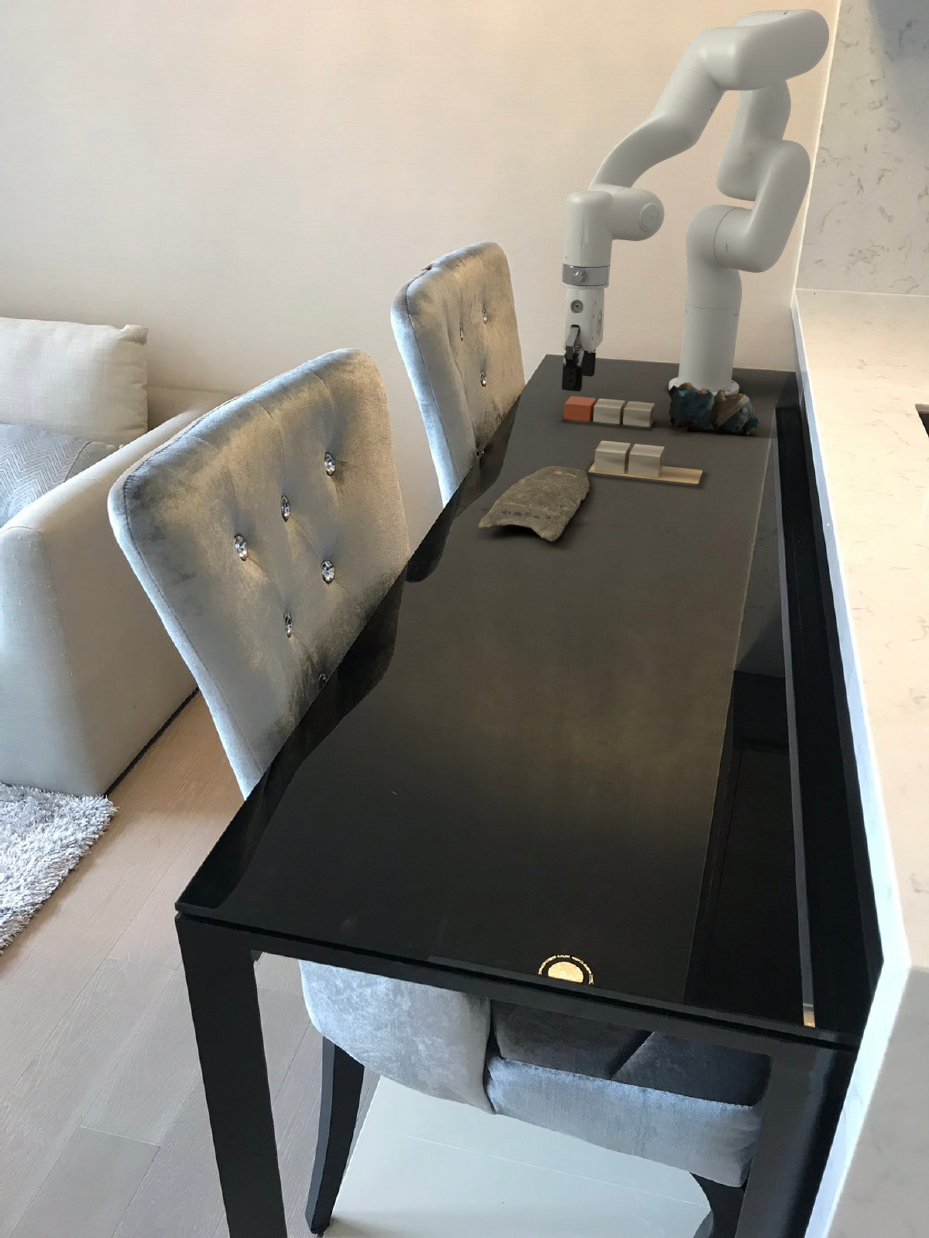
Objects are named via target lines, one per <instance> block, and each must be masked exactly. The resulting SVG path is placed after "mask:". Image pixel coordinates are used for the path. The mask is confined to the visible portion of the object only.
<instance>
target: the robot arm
mask: <svg viewBox="0 0 929 1238" xmlns="http://www.w3.org/2000/svg"><path fill="white" fill-rule="evenodd" d="M829 42H830V29H829V24H828V22H827V20H826V18H825V17H824V16H823V15H822V14H821V13H820V12H818V11H816V10H815V9H809V8H801V9H800V8H799V9H780V10H779V9H778V10H777V9H775V10H773V9H772V10H758V11H753V12H749V13H746V14H743V15H742V16H740V17H739V18H737V19H736V20H735V21H734V22H733V24H732V26H718V27H710V28H706V29H702V30H701V31H699V32H697V33H696V34H695V35H694V36H693V37H692V39H691V40H690V42H689V43H688V44H687V47H686V48H685V50H684V52H683V53H682V55H681V57H680V60H679V61H678V62H677V65H676V67H675V68H674V70H673V72H672V74H671V76H670V78H669V80H668V81H667V83H666V85H665V87H664V88H663V91H662V92H661V94H660V96H659V98H658V100H657V102H656V104H655V106H654V107H653V109H652V111H651V113H650V114H649V115H648V116H647V117H646V118H645V119H644V120H643V121H641V123H639V124H638V125H637V126H635V127H634V128H633V129H632V130H631V131H630V132H628V134H627V135H625V137H624V138H622V139H621V140H620V141H619V142H618V143H617V144H616V145H615V146H614V147H612V149H611V150H610V151H609V152H608V153H607V154H606V156H605V157H604V159H603V160H602V162H601V163H600V165H599V166H598V168H597V170H596V172H595V174H594V176H593V178H592V180H591V181H590V184H589V185H588V188H587V190H576V191H573V192H570V193H569V194H568V196H567V198H566V202H565V213H564V214H565V215H564V231H563V232H564V233H563V250H562V263H561V264H562V267H561V283H560V285H561V286H562V287H563V288H566V292H565V293H566V295H565V300H564V303H565V304H564V313H563V324H562V325H563V327H562V348H563V350H564V351H565V353H564V354H563V357H564V358H563V362H562V374H561V376H562V377H561V390H562V391H566V392H567V391H568V392H578V393H579V392H581V391H582V389H583V377H590V378H591V377H593V376H595V372H596V359H597V352H596V350H597V348H598V347H599V346H601V344H602V342H603V339H604V325H605V324H604V323H605V322H604V320H605V318H604V317H605V289H607V288H608V287H609V285H610V274H611V261H612V249H613V241H615V240H618V241H619V240H620V241H629V242H630V241H631V242H641V241H645V240H648V239H650V238H652V237H653V236H654V235H656V234H657V233H658V231H659V230H660V229H661V228H662V225H663V224H664V220H665V208H664V204H663V202H662V200H661V198H660V197H658V195H656V194H655V193H653V192H651V191H650V190H646V189H641V188H634V187H633V186H634V185H635V183H636V181H637V180H638V179H640V177H641V176H642V175H644V174H645V173H646V172H647V171H648V170H650V169H651V168H652V167H655V165H658V164H660V163H662V162H664V161H666V160H668V159H671V158H673V157H675V156H678V155H680V154H682V153H684V152H686V151H688V150H690V149H691V148H692V147H694V146H695V145H696V144H697V143H698V142H699V141H700V138H701V136H702V134H703V133H704V130H705V129H706V127H707V126H708V123H709V121H710V119H711V117H712V116H713V114H714V112H715V111H716V109H717V107H718V106H719V103H720V102H721V100H722V98H723V97H724V94H726V92H727V91H736V92H737V91H738V93H739V95H738V96H739V98H738V105H737V110H736V112H735V116H734V119H733V122H732V126H731V128H730V131H729V134H728V137H727V140H726V142H725V144H724V148H723V151H722V153H721V157H720V159H719V162H718V166H717V170H716V176H715V185H716V187H717V189H718V190H719V192H720V193H721V194H723V195H724V196H726V197H728V198H732V199H734V200H735V199H736V200H741V201H748V202H753V203H754V204H753V206H752V208H747V207H742V206H735V205H728V204H712V205H711V204H710V205H706V206H705V207H702V208H700V209H699V210H697V211H696V212H695V213H694V214H693V215H692V217H691V218H690V220H689V222H688V224H687V227H686V232H685V253H686V265H687V274H686V275H687V276H686V277H687V278H686V293H685V303H684V313H683V314H684V315H683V325H682V336H681V346H680V353H679V354H680V355H679V365H678V376H677V377H673V378H672V379H671V380H670V381H669V382H668V391H669V390H670V389H671V388H672V386H673V385H674V386H676V387H679V386H680V385H681V384H683V383H691V384H692V385H693V387H695V388H696V389H698V390H699V391H700V390H701V389H703V388H705V389H706V390H708V389H710V392H712V393H713V395H714V396H716V394H717V392H718V391H720V390H723V391H726V392H725V394H726V395H731V394H739V392H740V385H739V384H738V383H737V382H736V381H735V380H733V369H734V361H735V354H736V346H737V344H736V343H737V337H738V330H739V329H738V328H739V321H740V313H741V306H742V298H743V287H742V286H743V285H742V280H741V275H740V271H742V272H747V273H752V274H753V273H754V274H760V273H764V272H767V271H769V270H770V269H772V268H773V267H774V266H775V265H776V263H777V262H779V260H780V258H781V256H782V254H783V252H784V250H785V248H786V246H787V243H788V240H789V238H790V236H791V233H792V231H793V228H794V225H795V222H796V220H797V217H798V214H799V212H800V209H801V206H802V204H803V202H804V199H805V196H806V193H807V190H808V187H809V184H810V180H811V179H810V178H811V158H810V155H809V153H808V151H807V150H806V148H805V147H804V146H803V145H801V144H800V143H798V142H797V141H794V140H788V139H783V138H784V135H785V131H786V128H787V126H788V122H789V119H790V116H791V109H792V101H791V100H792V99H791V98H792V97H791V94H790V93H791V92H790V89H789V86H788V82H787V80H790V79H793V78H795V77H799V76H801V75H804V74H806V73H808V72H810V71H811V70H813V69H814V68H815V67H816V66H817V65H818V64H819V63H820V62H821V60H822V59H823V57H824V55H825V53H826V51H827V49H828V45H829Z"/></svg>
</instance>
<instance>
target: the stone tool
mask: <svg viewBox="0 0 929 1238" xmlns="http://www.w3.org/2000/svg"><path fill="white" fill-rule="evenodd" d="M589 487H590V482H589V475H588V474H587V472H586V471H585V470H583V469H582V470H581V469H576V468H573V467H566V466H559V465H550V466H546V467H542V468H540V469H538V470H536V471H535V472H533V473H532V474H530V475H525V477H523V478H520V479H519V480H518V482H517V483H514V484H512V485H511V486H510V487H509V489H506V490H505V491H504V493H502V494H501V495H500V497H498V498H497V499H496V501H495V502H494V504H493V505H492V507H491V508H490V510H489V511H488V513H486V514H485V515H484V516H483V517H482V518H481V519H480V521H479V523H478V529H480V530H482V531H487V530H490V529H492V528H496V527H505V526H520V527H523V528H529V529H531V530H532V531H534V532H535V533H536V534H537V535H538V536H539V537H540V538H541V539H543V540H545V541H548V542H555V541H556V540H557V539H559V538H560V536H561V535H562V534H563V531H564V530H565V529H566V526H567V525H568V524H569V521H570V520H571V519H572V518H573V517H574V516H575V513H576V512H577V510H578V509H580V505H581V502H582V501H584V500H585V499H586V497H587V494H588V493H589V492H590V488H589Z"/></svg>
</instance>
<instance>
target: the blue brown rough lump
mask: <svg viewBox="0 0 929 1238" xmlns="http://www.w3.org/2000/svg"><path fill="white" fill-rule="evenodd" d="M725 392H726V391H723V390H720V391H718V392H717V394H716V396H714V395H713V393H712V392H710V389H708V390H706V389H705V388H703V389H701V390H700V391H699V390H698V389H696V388H695V387H693V385H692V384H691V383H683V384H681V385H680V386H679V387H676V386H674V385H673V386H672V388H671V389H670V390H669V389H668V394H669V398H670V404H669V410H668V415H669V419H670V420H669V423H670V424H671V427H672V428H673V430H674V432H681V433H687V431H688V429H689V428H690V427H691V426H693V425H695V426H697V427H701V428H702V429H704V430H707V429H708V428H710V425H711V426H713V428H714V429H718V430H719V431H721V432H723V433H729V434H737V433H738V432H740V430H742V433H743V435H744V436H745V435H747V436H749V434H751V432H753V431H755V430H757V428H758V425H760V424H761V423H762V422H761V420H762V419H761V417H757V415H755V412H756V411H755V410H756V409H755V408H754V407H753V404H752V403H751V401H750V400H751V399H750V397H748V395H746V394H745V393H744V394H743V393H738V394H731V395H726V394H725Z"/></svg>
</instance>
